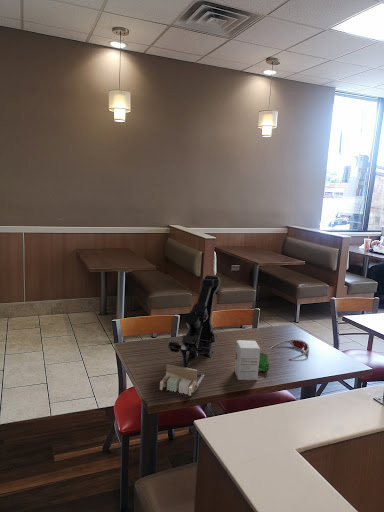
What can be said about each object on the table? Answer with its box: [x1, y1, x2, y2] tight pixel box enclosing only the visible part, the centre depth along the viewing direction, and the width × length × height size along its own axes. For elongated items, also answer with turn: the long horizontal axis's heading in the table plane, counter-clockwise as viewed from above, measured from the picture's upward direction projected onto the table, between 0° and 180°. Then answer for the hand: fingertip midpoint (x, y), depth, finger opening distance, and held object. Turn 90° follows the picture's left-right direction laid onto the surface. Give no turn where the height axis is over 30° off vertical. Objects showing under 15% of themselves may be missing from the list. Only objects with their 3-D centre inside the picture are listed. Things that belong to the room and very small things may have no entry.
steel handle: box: [164, 372, 205, 393], centre depth 170 cm, size 16×13×1 cm
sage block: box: [166, 377, 180, 393], centre depth 163 cm, size 4×4×4 cm
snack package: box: [258, 352, 270, 372], centre depth 187 cm, size 7×16×5 cm, turn 171°
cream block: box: [178, 379, 191, 395], centre depth 162 cm, size 4×4×4 cm
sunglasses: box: [270, 338, 310, 361], centre depth 206 cm, size 17×17×5 cm
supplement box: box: [234, 339, 261, 381], centre depth 177 cm, size 9×9×15 cm
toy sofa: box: [159, 364, 198, 397], centre depth 161 cm, size 8×14×8 cm, turn 73°
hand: (185, 368), depth 169 cm, fingers closed
